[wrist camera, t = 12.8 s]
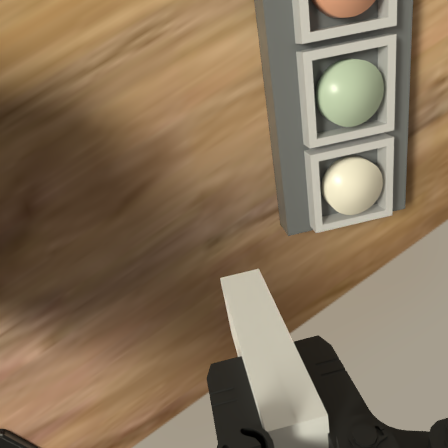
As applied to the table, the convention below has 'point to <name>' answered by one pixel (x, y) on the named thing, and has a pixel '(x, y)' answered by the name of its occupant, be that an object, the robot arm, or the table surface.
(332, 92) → the sage button
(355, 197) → the cream button
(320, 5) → the terracotta button
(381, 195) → the button panel
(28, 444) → the phone
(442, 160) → the table surface
